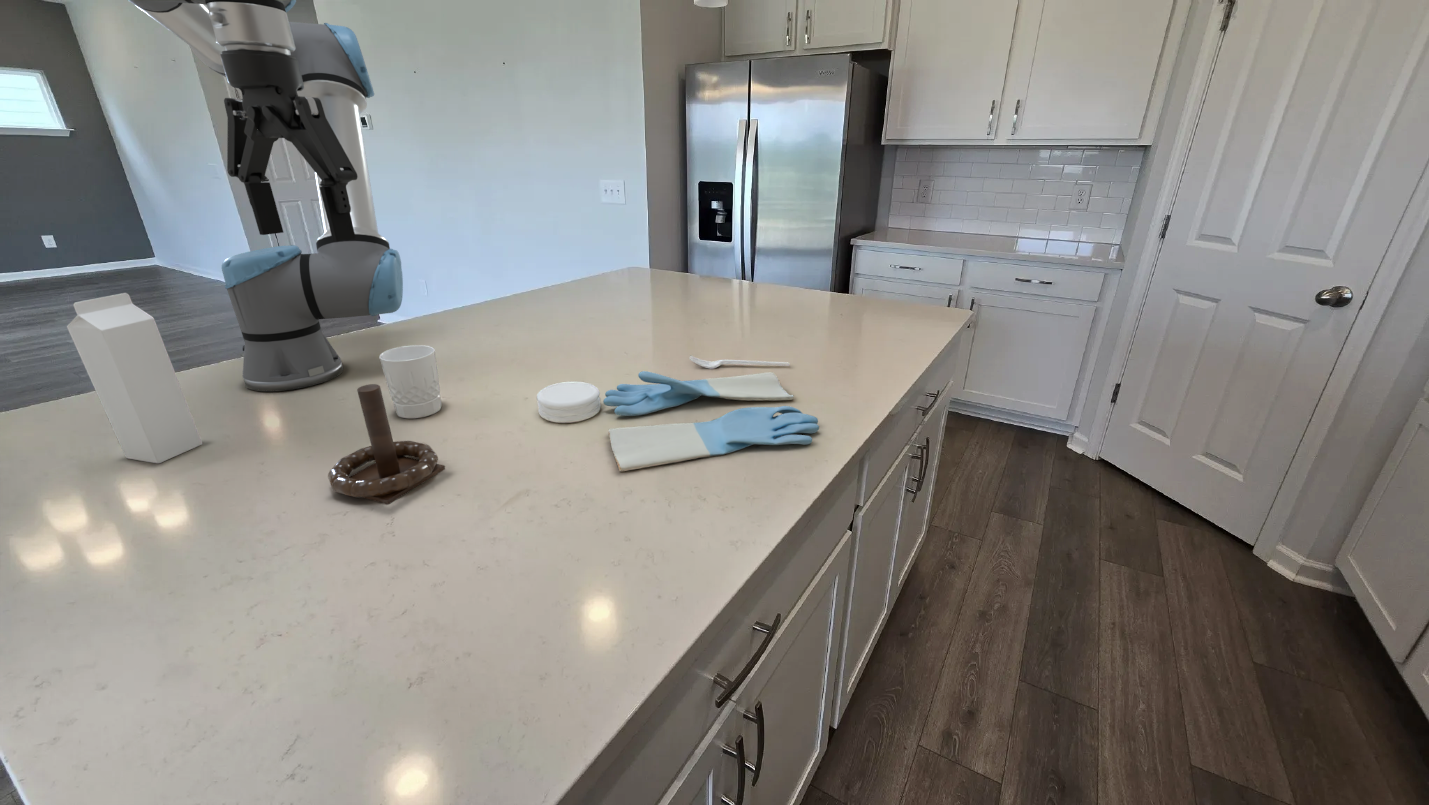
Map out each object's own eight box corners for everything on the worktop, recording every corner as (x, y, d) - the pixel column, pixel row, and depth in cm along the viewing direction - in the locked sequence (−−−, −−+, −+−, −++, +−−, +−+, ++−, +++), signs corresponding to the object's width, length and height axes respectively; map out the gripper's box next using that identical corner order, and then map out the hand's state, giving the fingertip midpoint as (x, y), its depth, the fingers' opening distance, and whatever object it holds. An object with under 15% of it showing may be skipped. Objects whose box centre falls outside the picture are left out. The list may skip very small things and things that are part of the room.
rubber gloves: (838, 443, 86) (842, 403, 84) (618, 473, 78) (615, 430, 75) (770, 378, 110) (772, 346, 108) (596, 396, 102) (593, 361, 99)
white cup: (425, 422, 92) (412, 362, 88) (381, 418, 93) (367, 358, 89) (455, 403, 99) (445, 346, 95) (414, 399, 100) (402, 343, 96)
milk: (125, 459, 80) (52, 301, 72) (172, 439, 86) (110, 290, 77) (159, 464, 79) (88, 304, 70) (204, 444, 84) (144, 293, 76)
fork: (790, 369, 115) (791, 360, 114) (689, 368, 115) (688, 359, 114) (788, 364, 118) (789, 355, 117) (690, 362, 118) (689, 354, 117)
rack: (335, 496, 72) (305, 395, 67) (395, 462, 80) (372, 370, 75) (389, 511, 69) (363, 407, 64) (446, 475, 77) (427, 380, 72)
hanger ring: (308, 488, 71) (303, 474, 70) (389, 445, 81) (386, 432, 81) (382, 508, 67) (378, 493, 66) (458, 461, 78) (455, 447, 77)
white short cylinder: (526, 411, 96) (524, 391, 94) (577, 394, 103) (576, 375, 101) (561, 430, 90) (559, 409, 88) (613, 410, 96) (611, 391, 95)
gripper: (155, 51, 70) (214, 234, 78) (302, 41, 62) (350, 246, 70) (223, 60, 76) (271, 228, 85) (364, 51, 68) (401, 238, 77)
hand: (307, 236), depth 78 cm, fingers open, 13 cm apart
